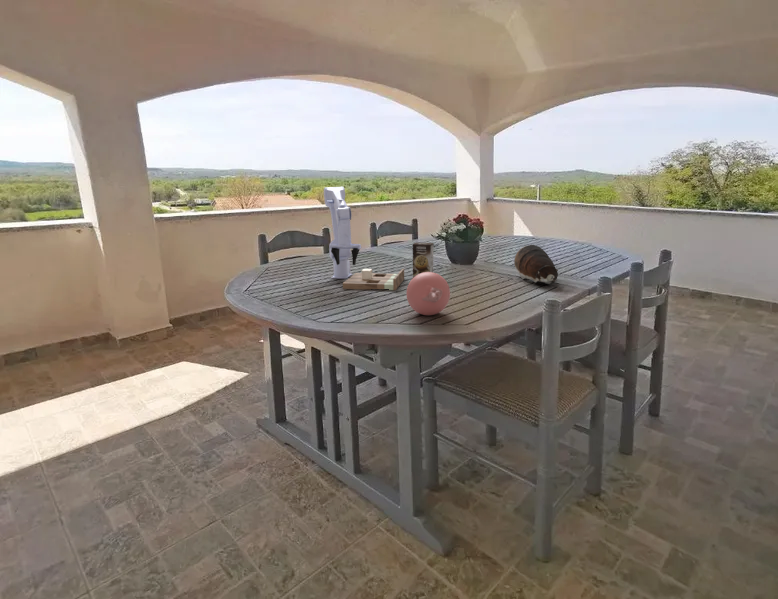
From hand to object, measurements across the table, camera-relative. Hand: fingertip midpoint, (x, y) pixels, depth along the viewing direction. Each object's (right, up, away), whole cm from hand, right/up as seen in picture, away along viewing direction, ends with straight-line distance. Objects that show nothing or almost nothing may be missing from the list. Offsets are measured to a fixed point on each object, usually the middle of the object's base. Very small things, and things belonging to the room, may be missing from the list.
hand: (346, 264), depth 207 cm
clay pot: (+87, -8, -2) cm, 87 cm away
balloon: (+34, -22, -46) cm, 61 cm away
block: (+9, -6, +3) cm, 12 cm away
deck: (+13, -9, +3) cm, 16 cm away
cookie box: (+36, -5, +15) cm, 40 cm away
